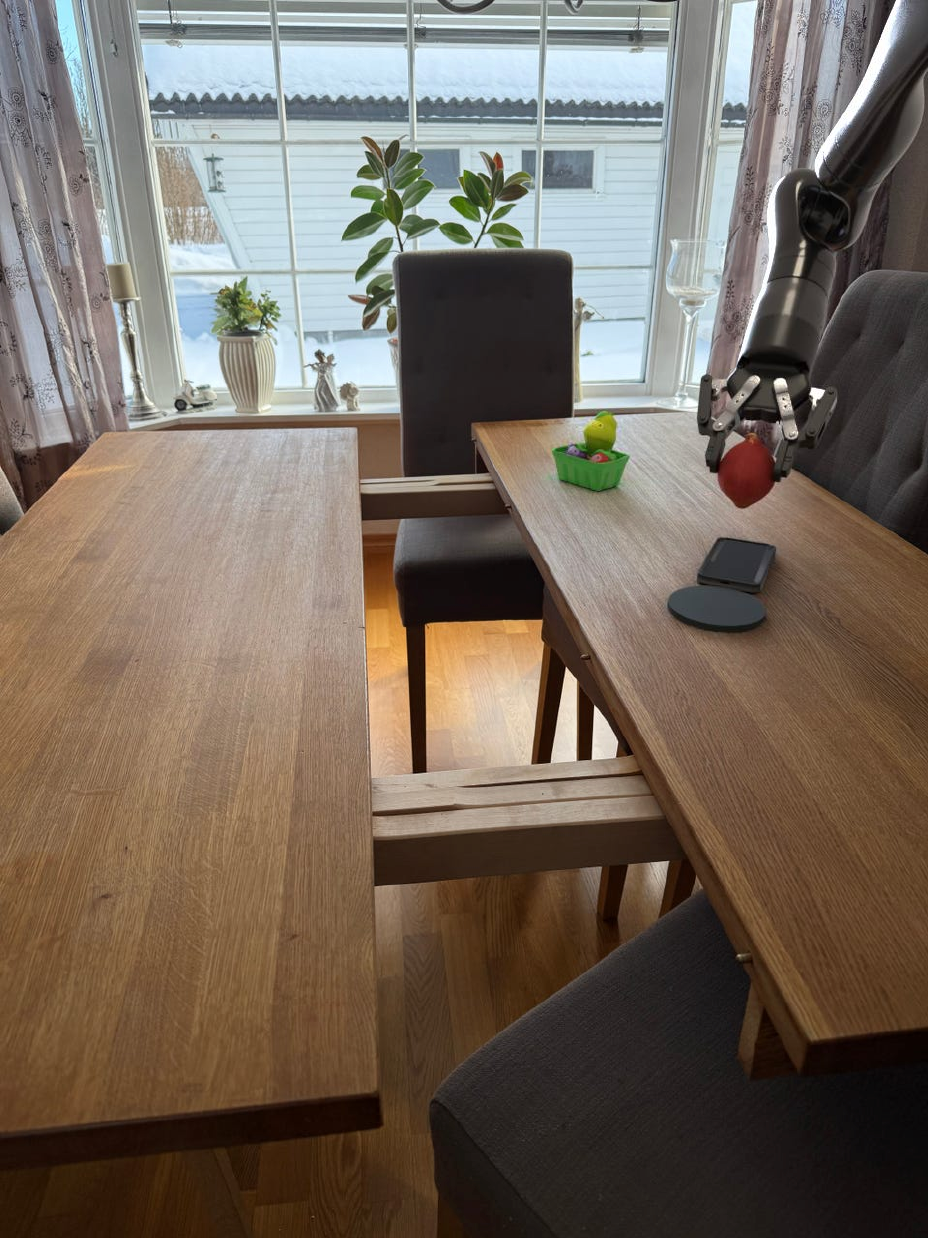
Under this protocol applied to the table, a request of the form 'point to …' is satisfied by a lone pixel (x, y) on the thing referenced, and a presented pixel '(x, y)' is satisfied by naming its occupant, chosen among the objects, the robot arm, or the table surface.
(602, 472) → the fruit basket
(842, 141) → the robot arm
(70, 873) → the table surface
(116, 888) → the table surface
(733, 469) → the onion
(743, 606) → the dark grey flat disc
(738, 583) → the phone
